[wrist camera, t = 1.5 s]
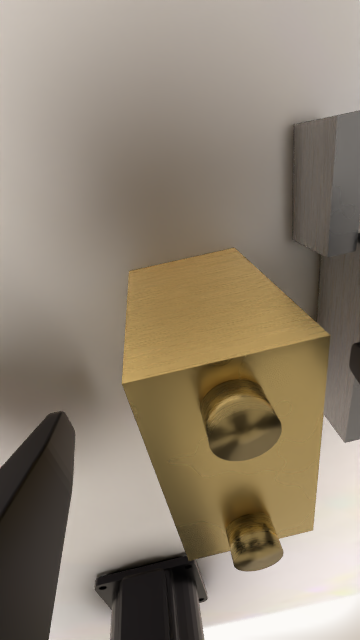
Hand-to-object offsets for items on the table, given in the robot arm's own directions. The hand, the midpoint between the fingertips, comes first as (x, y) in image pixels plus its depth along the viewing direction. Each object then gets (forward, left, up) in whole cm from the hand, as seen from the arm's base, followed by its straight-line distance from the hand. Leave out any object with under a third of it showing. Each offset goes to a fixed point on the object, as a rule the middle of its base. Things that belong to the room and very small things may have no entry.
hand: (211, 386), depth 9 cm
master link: (0, 0, -3) cm, 3 cm away
